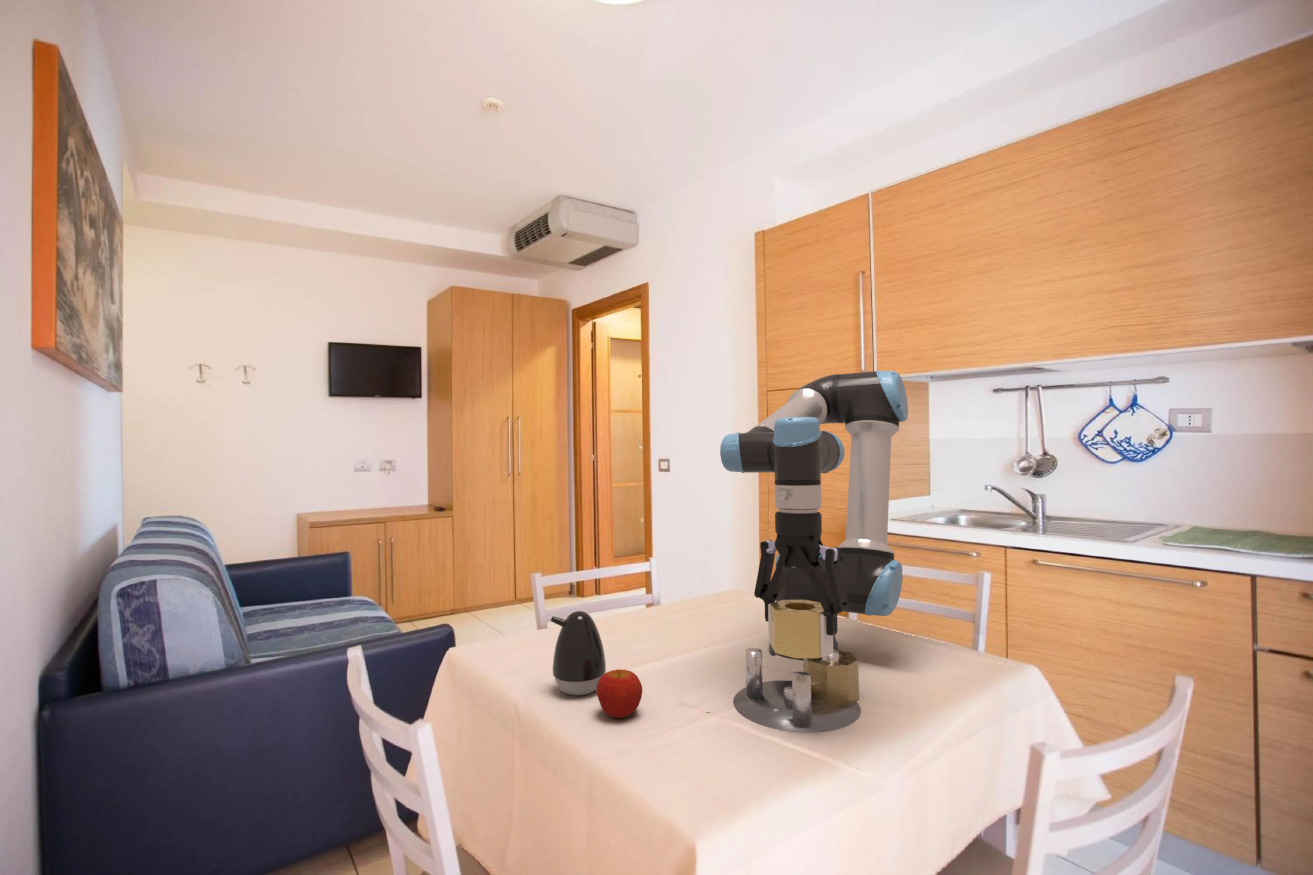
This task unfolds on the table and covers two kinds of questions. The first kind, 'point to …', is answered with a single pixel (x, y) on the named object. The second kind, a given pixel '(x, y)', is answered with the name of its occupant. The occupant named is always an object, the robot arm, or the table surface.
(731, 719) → the table surface
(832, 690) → the seated gear
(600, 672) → the pump dispenser
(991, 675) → the table surface
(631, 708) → the apple
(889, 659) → the table surface
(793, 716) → the carrier
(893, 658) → the table surface
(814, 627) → the gear
